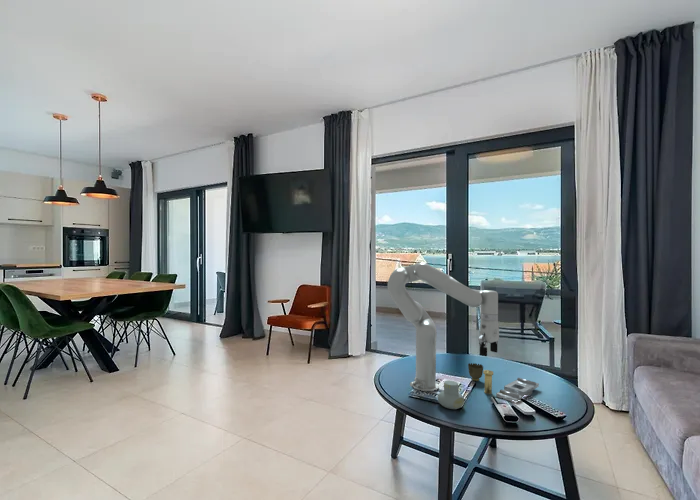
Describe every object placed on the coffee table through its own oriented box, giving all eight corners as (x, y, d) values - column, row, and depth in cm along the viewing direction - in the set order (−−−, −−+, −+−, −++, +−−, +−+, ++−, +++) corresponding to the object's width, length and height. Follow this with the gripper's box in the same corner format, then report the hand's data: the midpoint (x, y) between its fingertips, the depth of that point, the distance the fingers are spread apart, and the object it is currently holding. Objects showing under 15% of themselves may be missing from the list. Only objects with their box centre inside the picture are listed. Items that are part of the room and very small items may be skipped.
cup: (484, 384, 174) (484, 367, 174) (468, 382, 176) (469, 366, 176) (481, 378, 182) (482, 363, 182) (467, 377, 183) (467, 362, 183)
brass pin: (490, 395, 160) (490, 373, 160) (481, 392, 163) (481, 371, 164) (494, 393, 163) (495, 371, 163) (486, 390, 166) (486, 369, 166)
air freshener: (452, 400, 155) (452, 377, 155) (467, 407, 148) (467, 383, 148) (434, 405, 149) (434, 382, 149) (449, 413, 142) (449, 388, 142)
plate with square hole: (516, 403, 152) (516, 393, 152) (496, 396, 159) (496, 387, 159) (538, 389, 168) (538, 381, 168) (519, 384, 175) (519, 376, 175)
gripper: (487, 320, 155) (487, 359, 155) (505, 316, 166) (505, 352, 166) (472, 317, 161) (471, 355, 161) (490, 313, 172) (490, 348, 172)
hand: (488, 353), depth 163 cm, fingers open, 9 cm apart
